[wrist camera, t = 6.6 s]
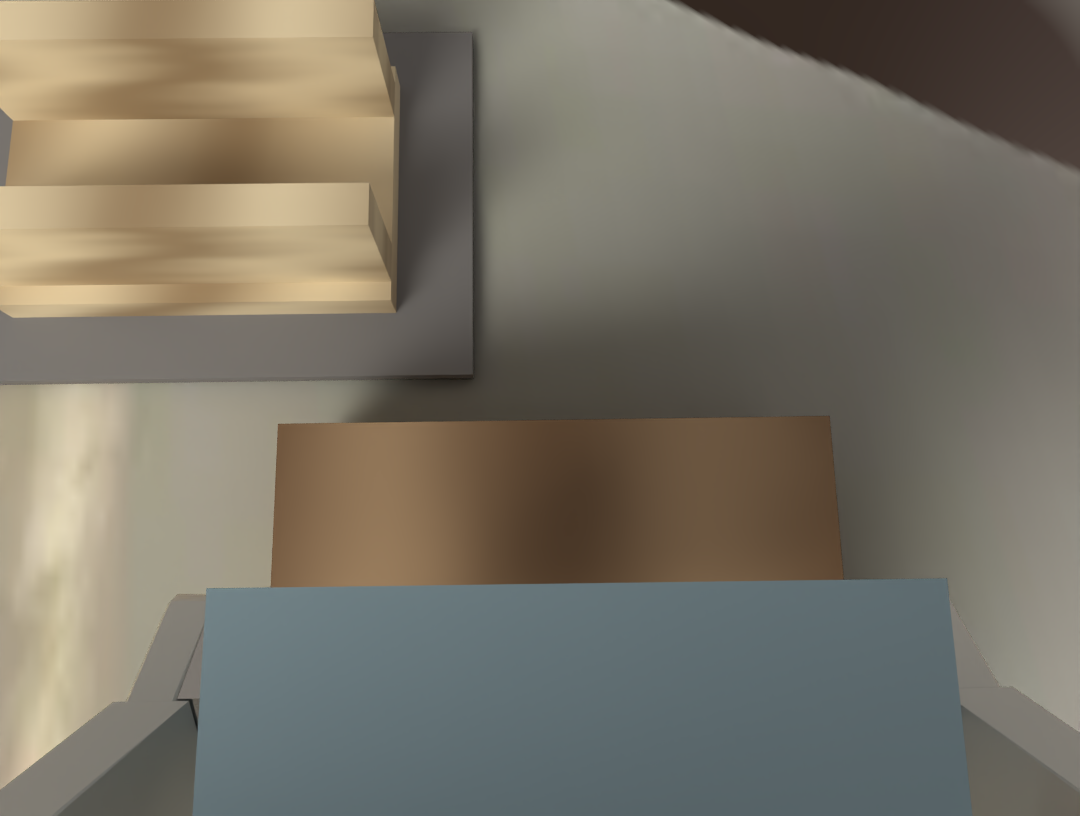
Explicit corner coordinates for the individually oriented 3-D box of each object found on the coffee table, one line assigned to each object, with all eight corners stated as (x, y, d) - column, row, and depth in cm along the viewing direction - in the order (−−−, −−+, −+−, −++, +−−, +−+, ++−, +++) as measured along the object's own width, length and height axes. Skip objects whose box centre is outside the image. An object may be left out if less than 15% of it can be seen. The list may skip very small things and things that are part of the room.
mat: (-64, 385, 25) (-73, 381, 24) (-20, 44, 27) (-28, 36, 26) (473, 378, 25) (472, 374, 24) (473, 40, 27) (472, 32, 27)
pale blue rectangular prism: (378, 720, 17) (189, 858, 7) (381, 605, 17) (206, 588, 8) (711, 714, 17) (975, 841, 7) (705, 600, 17) (946, 577, 8)
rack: (20, 322, 25) (-100, 251, 20) (45, 97, 26) (-62, -18, 22) (398, 317, 25) (367, 246, 20) (401, 94, 27) (374, -21, 22)
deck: (303, 875, 22) (255, 930, 18) (318, 455, 24) (278, 424, 20) (812, 864, 22) (872, 916, 18) (781, 448, 24) (829, 416, 21)
